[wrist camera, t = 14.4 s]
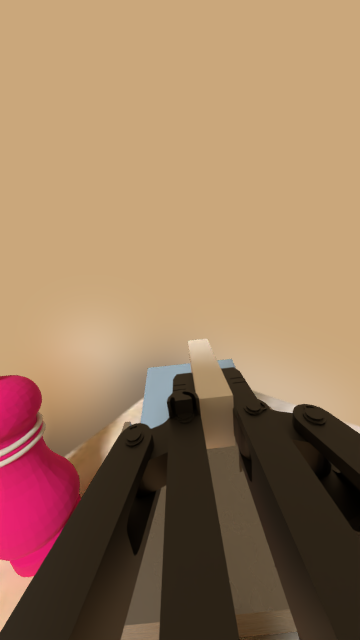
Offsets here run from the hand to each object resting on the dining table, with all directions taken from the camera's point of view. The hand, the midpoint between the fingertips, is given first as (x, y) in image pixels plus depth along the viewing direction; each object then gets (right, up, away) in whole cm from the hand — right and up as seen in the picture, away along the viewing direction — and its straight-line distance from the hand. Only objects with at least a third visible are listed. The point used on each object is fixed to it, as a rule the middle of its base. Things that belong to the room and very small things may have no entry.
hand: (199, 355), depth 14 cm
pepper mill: (-15, -20, +5) cm, 26 cm away
